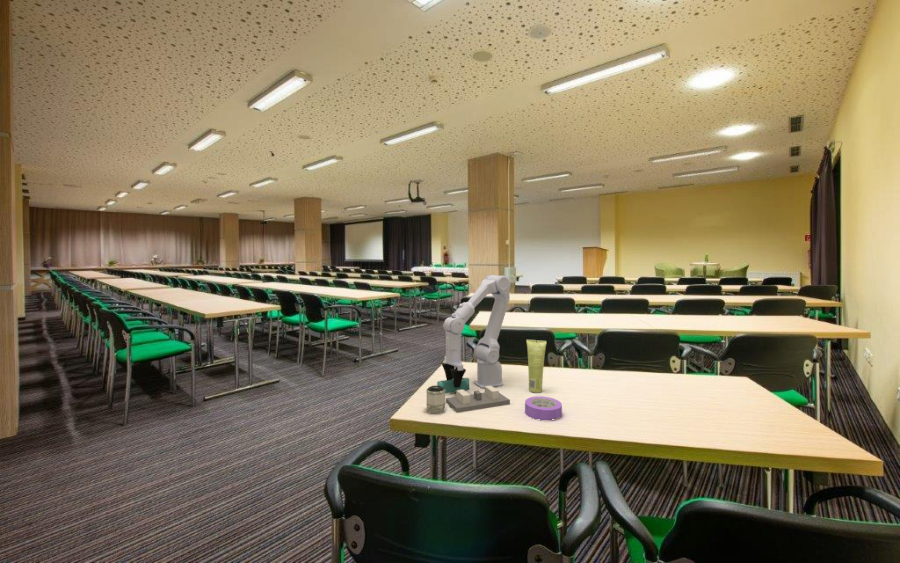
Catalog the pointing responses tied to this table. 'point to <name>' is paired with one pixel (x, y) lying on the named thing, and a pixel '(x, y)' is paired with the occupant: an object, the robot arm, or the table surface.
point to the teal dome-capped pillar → (449, 385)
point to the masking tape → (543, 408)
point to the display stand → (477, 400)
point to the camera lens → (435, 399)
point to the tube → (535, 364)
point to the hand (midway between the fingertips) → (453, 384)
